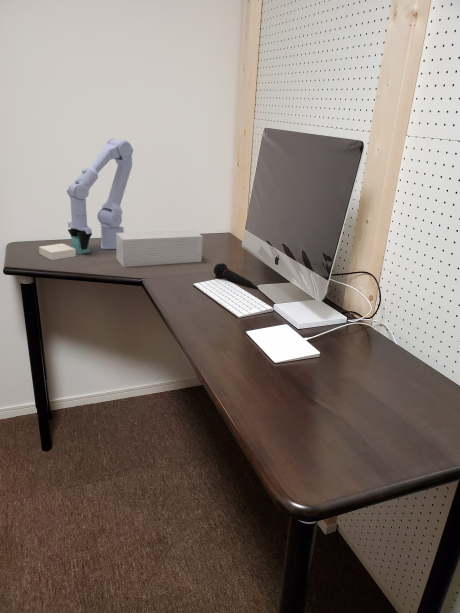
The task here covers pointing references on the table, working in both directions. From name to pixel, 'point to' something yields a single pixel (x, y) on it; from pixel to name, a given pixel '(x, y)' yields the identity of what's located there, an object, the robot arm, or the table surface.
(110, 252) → the table surface
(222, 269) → the microphone
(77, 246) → the teal block
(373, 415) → the table surface
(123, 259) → the stack of papers
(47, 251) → the cream plinth
